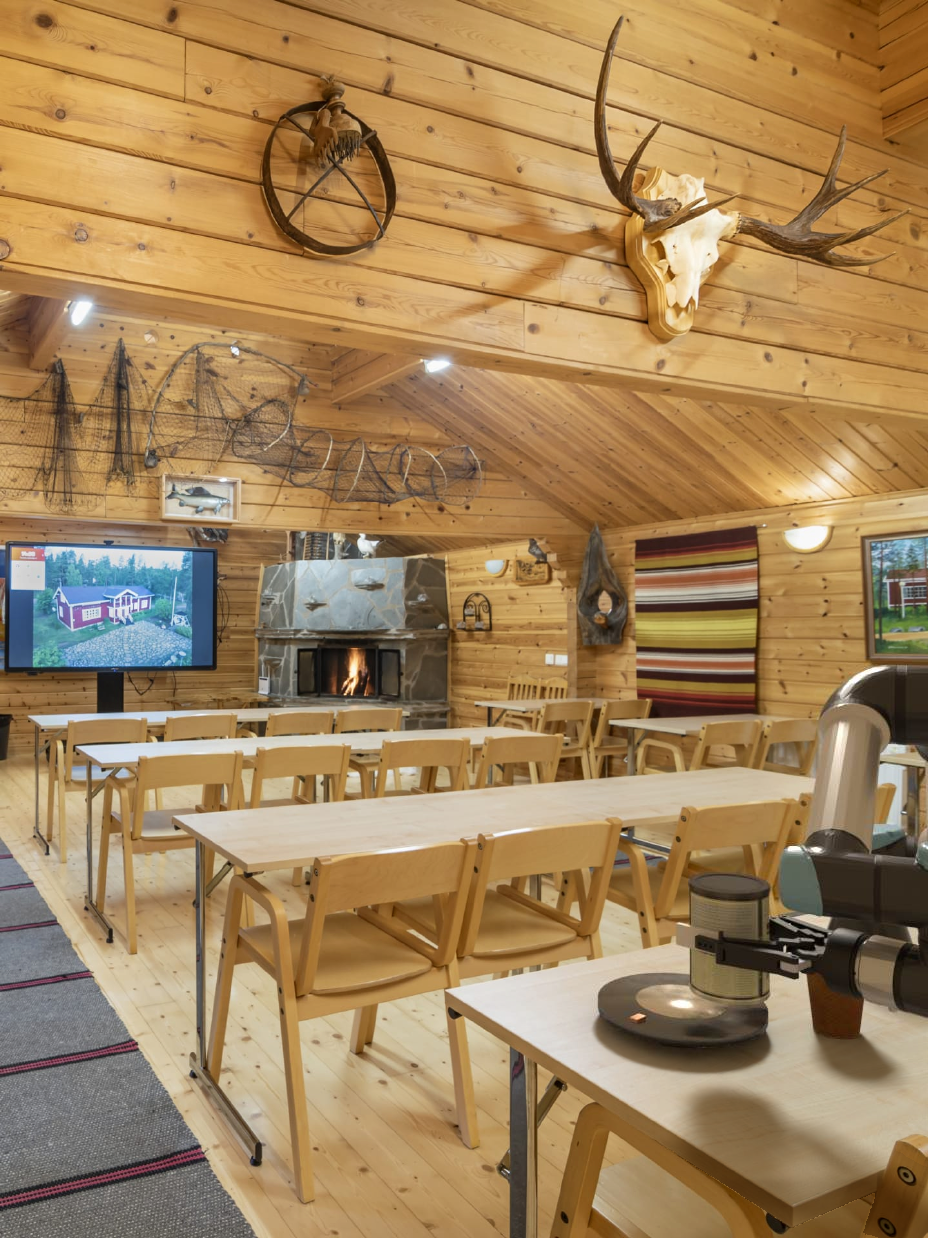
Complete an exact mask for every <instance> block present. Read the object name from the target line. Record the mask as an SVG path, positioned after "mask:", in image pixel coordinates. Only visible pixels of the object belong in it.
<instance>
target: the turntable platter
mask: <svg viewBox="0 0 928 1238" xmlns="http://www.w3.org/2000/svg"><path fill="white" fill-rule="evenodd" d="M689 984H690V973H678V972H647V973H645V972H644V973H636V974H630V975H626V976H621V977H619V978H615V979H613V980H611V981H608V982H607V983H606V984H604V985H603V986H602V987H601V988H600V989H599V991H598V992H597V993H598V994H597V1011H598V1013H599V1015H600V1016H601V1017H602V1019H603V1020H604V1021H606V1022H607V1023H608V1025H611V1026H612V1027H613V1028H615V1029H617V1030H619V1031H621V1032H623V1033H625V1034H628V1035H630V1036H632V1037H636V1038H639V1039H642V1040H646V1041H649V1042H653V1043H656V1042H657V1043H656V1044H659V1043H662V1044H661V1045H663V1044H668V1045H674V1046H684V1047H700V1048H699V1049H703V1048H702V1047H710V1048H724V1047H731V1046H736V1045H741V1044H744V1043H748V1042H750V1041H753V1040H755V1039H757V1038H760V1036H762V1035H763V1034H764V1033H765V1032H766V1031H767V1029H768V1027H769V1009H768V1006H767V1004H766V1003H765V1001H764V1002H761V1003H758V1004H751V1005H729V1004H721V1003H717V1002H712V1001H709V1000H706V999H703V998H701V997H699V996H697V995H695V994H694V993H693V992H692V991H691V990H690V987H689ZM668 1045H667V1046H668ZM674 1046H673V1047H674Z"/></svg>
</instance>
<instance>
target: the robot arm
mask: <svg viewBox="0 0 928 1238" xmlns="http://www.w3.org/2000/svg"><path fill="white" fill-rule="evenodd" d="M817 737H818V739H819V740H820V742H821V748H820V755H819V759H818V766H817V770H816V777H815V781H814V785H813V786H814V787H813V792H812V797H811V798H812V799H811V803H810V807H809V808H810V809H809V814H808V820H807V826H806V831H805V837H804V842H803V845H802V844H800V845H797V846H795V845H794V846H793V845H792V846H791V845H790V846H786V847H785V848H784V849H783V850H782V852H781V853H780V854H781V855H780V857H779V858H780V859H779V865H778V866H779V867H778V891H779V893H778V894H779V898H780V902H781V904H782V906H784V908H785V909H787V910H789V911H792V912H795V913H796V912H797V913H802V914H805V915H810V916H811V915H812V916H816V917H819V918H821V917H825V918H830V919H829V921H828V925H827V927H826V928H824V927H822V926H819V925H816V924H813V923H810V922H806V921H805V920H804V921H803V920H801V919H798V918H795V917H792V916H790V915H786V914H781V915H779V918H778V917H777V916H769V941H762V940H751V939H740V938H728V937H724V931H719V932H715V931H711V930H707V929H704V928H700V927H696V926H692V925H690V924H687V923H683V922H681V921H680V922H676V923H675V925H676V927H675V945H677V946H680V947H684V948H687V949H688V948H689V949H690V948H691V949H694V950H698V951H701V952H705V953H709V954H712V955H715V959H716V964H719V965H726V966H731V967H737V968H743V969H748V970H754V971H760V972H765V973H770V975H778V976H781V977H784V978H787V979H791V980H794V981H795V980H799V979H800V973H801V974H805V975H806V974H815V973H819V974H821V976H822V977H823V979H824V981H825V983H826V986H827V987H828V988H829V990H831V991H832V992H834V993H837V994H841V995H844V996H848V997H852V998H855V999H862V998H864V1001H866V1002H869V1003H870V1004H871V1003H872V1004H875V1005H878V1006H883V1007H887V1009H888V1012H891V1013H893V1014H894V1013H897V1012H898V1011H900V1012H903V1013H907V1014H911V1015H915V1016H919V1017H922V1018H925V1019H928V665H923V664H922V665H921V664H920V665H915V664H914V665H912V664H911V665H905V664H904V665H901V664H898V665H897V664H884V665H877V666H873V667H871V668H868V669H865V670H862V671H860V672H858V673H856V674H854V675H853V676H851V677H850V678H849V679H847V680H846V681H844V682H843V683H842V684H840V685H839V686H838V687H837V688H836V689H835V690H834V692H833V693H832V694H831V695H829V697H828V699H827V700H826V701H825V703H824V705H823V707H822V709H821V711H820V714H819V717H818V722H817ZM889 745H898V746H909V747H911V746H914V747H913V748H914V749H915V751H916V753H917V754H918V756H919V757H920V758H921V759H922V760H923V761H924V765H925V767H924V768H925V769H924V770H925V800H926V801H925V804H926V806H925V807H926V828H924V830H923V831H922V832H921V833H920V835H919V836H913V835H906V831H905V828H904V827H903V826H901V825H897V824H887V823H875V817H876V805H877V795H878V794H877V793H878V785H879V776H880V775H879V773H880V763H881V754H882V753H883V752H885V750H887V747H888V746H889ZM909 928H913V929H917V944H916V943H913V940H912V937H911V936H912V935H911V934H910V931H909ZM784 948H785V949H784ZM784 950H785V952H784Z"/></svg>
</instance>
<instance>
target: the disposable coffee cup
mask: <svg viewBox="0 0 928 1238" xmlns="http://www.w3.org/2000/svg"><path fill="white" fill-rule="evenodd" d="M805 975H806V981H807V990H808V991H807V992H808V998H809V1007H810V1014H811V1023H812V1028H813V1030H815V1032H817V1033H819V1034H821V1035H823V1036H827V1037H830V1038H832V1039H833V1038H834V1039H854V1038H855V1039H856V1038H857V1037H859V1036H860V1034H861V1027H862V1018H863V1013H864V1012H863V1011H864V1003H865V999H864V998H862V999H855V998H852V997H848V996H844V995H841V994H837V993H834V992H832V991H831V990H829V988H828V987H827V986H826V983H825V981H824V979H823V977H822V976H821V974H819V973H815V974H805Z"/></svg>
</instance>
